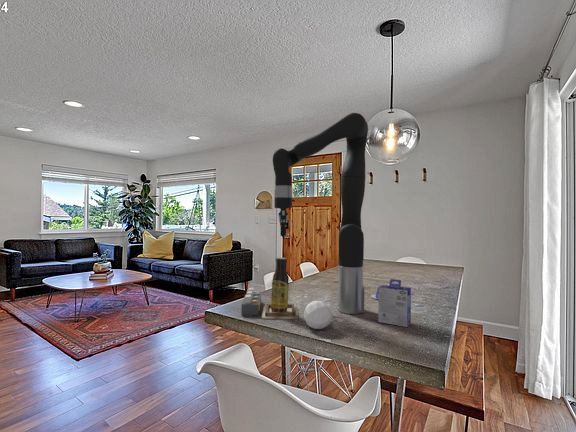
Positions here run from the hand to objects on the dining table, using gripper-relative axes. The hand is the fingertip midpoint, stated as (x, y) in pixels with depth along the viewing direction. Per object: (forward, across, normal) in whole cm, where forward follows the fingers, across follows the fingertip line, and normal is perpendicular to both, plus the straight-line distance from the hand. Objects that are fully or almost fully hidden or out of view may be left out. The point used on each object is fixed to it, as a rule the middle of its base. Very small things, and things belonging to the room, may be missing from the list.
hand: (283, 235), depth 133 cm
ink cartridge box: (+28, -26, -38) cm, 54 cm away
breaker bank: (+28, -9, +12) cm, 32 cm away
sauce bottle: (+28, -15, +1) cm, 31 cm away
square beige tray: (+28, -15, +1) cm, 32 cm away
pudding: (+29, +8, -46) cm, 55 cm away
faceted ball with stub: (+28, -30, -12) cm, 43 cm away
